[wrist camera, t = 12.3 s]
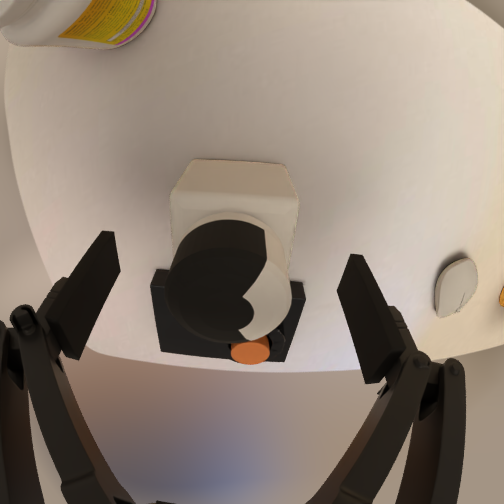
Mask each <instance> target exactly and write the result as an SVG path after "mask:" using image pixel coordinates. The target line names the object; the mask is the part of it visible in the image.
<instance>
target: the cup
mask: <svg viewBox="0 0 504 504" xmlns="http://www.w3.org/2000/svg"><path fill="white" fill-rule="evenodd" d="M499 302H500V305H501V306H502V307H504V287H503V290H502V292H501V294H500V300H499Z"/></svg>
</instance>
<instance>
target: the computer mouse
mask: <svg viewBox="0 0 504 504" xmlns="http://www.w3.org/2000/svg"><path fill="white" fill-rule="evenodd" d="M477 284H478V272H477V268H476V265H475V263H474V261H473V260H472V259H469V258H464V259H461V260H458V261H455V262H454V263H452V264H450V265H449V266H448V267H446V268H445V269H444V270H443V272H442V273H441V274H440V276H439V278H438V280H437V283H436V288H435V305H436V314H437V316H438V317H440V318H443V317H447V316H450V315H452V314H454V313H456V312H460V310H461V308H462V307H463V306H464V305H465V304H466V303H467V302H468V301H469V300H470V298H471V297H472V296H473V294H474V293H475V291H476V288H477Z"/></svg>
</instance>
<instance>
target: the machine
mask: <svg viewBox="0 0 504 504" xmlns="http://www.w3.org/2000/svg"><path fill="white" fill-rule="evenodd" d="M168 273H169V270H159V269H156V272H155V274H154V277H153V279H152V282H151V284H150V288H151V295H152V302H153V309H154V315H155V321H156V327H157V333H158V338H159V344H160V349H161V352H167V353H175V354H183V355H191V356H200V357H210V358H221V359H230V360H232V361H235V360H234V359H233V358H232V356H231V344H229V343H218V342H213V341H209V340H206V339H203V338H200V337H198V336H196V335H194V334H192V333H191V332H189V331H187V330H186V329H185V328H184V327H182V326H181V325H180V324H179V323H178V322H177V320H176V319H175V318H174V317H173V315H172V314H171V312H170V311H169V309H168V307H167V304H166V301H165V296H164V287H165V282H166V279H167V276H168ZM290 287H291V294H292V300H291V306H290V309H289V311H288V313H287V315H286V317H285V318H284V320H283V321H282V322H281V323H280V324H279V325H278V326H277V327H276V328H275V329H273V330H272V331H271V332H270V333H268V334H266V336H267V337H268V339H269V350H270V354H269V357H268V358H267V359H266V360H265V361H268V362H285V359H286V356H287V354H288V351H289V348H290V345H291V342H292V339H293V337H294V334H295V331H296V328H297V325H298V322H299V319H300V316H301V313H302V310H303V307H304V304H305V301H306V297H305V292H304V288H303V283H302V282H290ZM265 361H263V362H265ZM235 362H237V361H235ZM237 363H239V362H237Z"/></svg>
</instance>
